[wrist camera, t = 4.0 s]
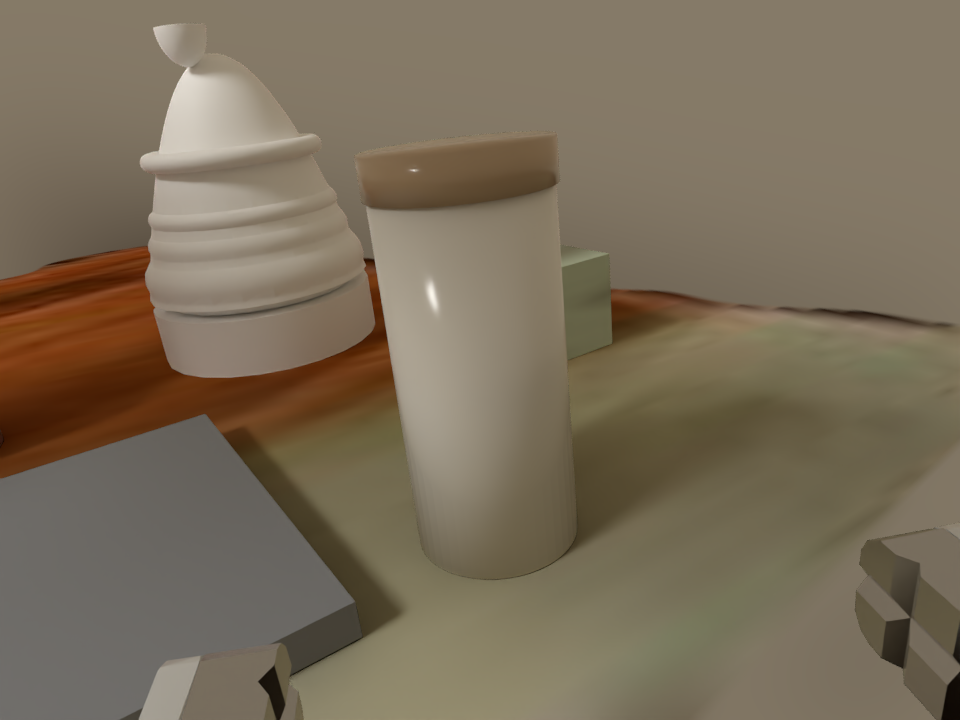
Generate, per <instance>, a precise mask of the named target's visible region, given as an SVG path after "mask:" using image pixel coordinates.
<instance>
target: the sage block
mask: <svg viewBox="0 0 960 720" xmlns="http://www.w3.org/2000/svg"><path fill="white" fill-rule="evenodd" d="M560 250H561V266H562V282H563V299H564V315H565V331H566V347H567V360H570V359H572V358H575V357H578V356H580V355H583V354H586V353H588V352H591V351H594V350H596V349H599V348H602V347H604V346H607V345H610V344H612V320H611V290H610V265H609V264H610V262H609V254H608V253H603V252H597V251H592V250H586V249H580V248H575V247H570V246H564V245H560Z"/></svg>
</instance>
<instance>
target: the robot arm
mask: <svg viewBox="0 0 960 720" xmlns="http://www.w3.org/2000/svg"><path fill="white" fill-rule="evenodd" d="M859 565H860V566H861V567H862V568H863V570H864V571H865V572H866V573H867V574H868V576H867V577H866V578H865V580H864V581H863V582H862V583H861V585H860V586H859V587H858V589H857V590H856V602H855V612H856V615H857V619H858V622H859V625H860V629H861V631H862V633H863V634H864V636H865V638H866V640H867V641H868V643H869V645H870V646H871V647H872V648H873V649H874V650H875V652H876V653H877V654H878V655H879V656H880V657H881V658H882V659H884V660H886V661H888V662H890V663H892V664H894V665H896V666H899V667H901V668H902V669H903V676H904V677H903V678H904V684H905V686H906V687H907V688H908V689H909V690H910V691H911V692H912V693H913V694H914V696H915V697H916V698H917V699H918V700H919V701H920V702H921V703H922V704H923V705H924V707H925V708H926V709H927V710H928V711H929V712H930V713H931V714H932V716H933V717H934V718H935V719H936V720H960V523H955V524H950V525H945V526H940V527H935V528H933V529H927V530H922V531H916V532H911V533H905V534H900V535H894V536H889V537H883V538H878V539H872V540H867V542H866V543H865V545H864V546H863V548H862V549H861V556H860V563H859ZM291 666H292V665H291V662H290V658H289V655H288V652H287V648H286V646H285V645H284V644H282V643H276V644H269V645H263V646H256V647H249V648H243V649H236V650H230V651H223V652H216V653H210V654H206V655H203V656H195V657H188V658H181V659H175V660H168V661H166V662H165V663H164V664H163V665H162V666H161V667H160V668H159V670H158V671H157V674H156V676H155V679H154V681H153V684H152V686H151V689H150V691H149V694H148V697H147V699H146V702H145V704H144V707H143V709H142V712H141V714H140V717H139V720H304V718H303V711H302V704H301V700H300V696H299V692H298V691H297V690H296V689H295V688H293V687H292V686H290V685H289V679H290V673H291Z"/></svg>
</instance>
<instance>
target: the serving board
mask: <svg viewBox="0 0 960 720" xmlns="http://www.w3.org/2000/svg"><path fill="white" fill-rule="evenodd" d="M361 637H362V632H361V627H360V622H359V617H358V613H357V608H356V603H355V601H354V600H353V598H352V597H351V596H350V595H349V593H348V592H347V591H346V589H345V588H344V587H343V586H342V584H341V583H340V582H339V581H338V579H337V578H336V577H335V576H334V574H333V573H332V572H331V571H330V569H329V568H328V567H327V566H326V564H325V563H324V562H323V561H322V559H321V558H320V557H319V556H318V554H317V553H316V552H315V551H314V549H313V548H312V547H311V546H310V544H309V543H308V542H307V541H306V539H305V538H304V537H303V536H302V534H301V533H300V532H299V531H298V529H297V528H296V527H295V526H294V524H293V523H292V522H291V521H290V519H289V518H288V517H287V516H286V514H285V513H284V512H283V511H282V509H281V508H280V507H279V506H278V504H277V503H276V502H275V501H274V499H273V498H272V497H271V496H270V494H269V493H268V492H267V491H266V489H265V488H264V487H263V486H262V484H261V483H260V482H259V481H258V479H257V478H256V477H255V476H254V474H253V473H252V472H251V470H250V469H249V468H248V467H247V465H246V464H245V463H244V462H243V460H242V459H241V458H240V457H239V455H238V454H237V453H236V452H235V450H234V449H233V448H232V447H231V445H230V444H229V443H228V442H227V440H226V439H225V438H224V437H223V435H222V434H221V433H220V432H219V430H218V429H217V428H216V427H215V425H214V424H213V423H212V422H211V420H210V419H209V418H208V417H207V415H206V414H203V415H200V416H197V417H194V418H191V419H188V420H185V421H181V422H178V423H175V424H172V425H169V426H166V427H163V428H159V429H156V430H153V431H150V432H147V433H144V434H141V435H137V436H134V437H131V438H128V439H125V440H122V441H119V442H115V443H112V444H109V445H106V446H103V447H100V448H97V449H93V450H90V451H87V452H84V453H81V454H78V455H75V456H71V457H68V458H65V459H62V460H59V461H56V462H52V463H49V464H46V465H43V466H40V467H37V468H34V469H30V470H27V471H24V472H21V473H18V474H15V475H12V476H8V477H5V478H2V479H0V720H139V717H140V714H141V712H142V709H143V707H144V704H145V702H146V699H147V697H148V694H149V691H150V689H151V686H152V684H153V681H154V679H155V676H156V674H157V671H158V670H159V668H160V667H161V666H162V665H163V664H164V663H165V662H166V661H168V660H175V659H181V658H188V657H195V656H203V655H206V654H210V653H216V652H223V651H230V650H236V649H243V648H249V647H256V646H263V645H269V644H276V643H282V644H284V645H285V646H286V648H287V652H288V655H289V658H290V662H291V665H292V666H291V673H290V675H292V674H293V673H295V672H297V671H299V670H301V669H303V668H305V667H307V666H309V665H310V664H312V663H314V662H316V661H318V660H320V659H322V658H324V657H326V656H327V655H329V654H331V653H333V652H335V651H337V650H339V649H341V648H342V647H344V646H346V645H348V644H350V643H352V642H354V641H356V640H358V639H359V638H361Z"/></svg>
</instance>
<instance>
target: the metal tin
mask: <svg viewBox="0 0 960 720" xmlns="http://www.w3.org/2000/svg"><path fill="white" fill-rule="evenodd" d="M3 442H4V437H3V435H2V432H1V430H0V447H1V445H2V444H3Z"/></svg>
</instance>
